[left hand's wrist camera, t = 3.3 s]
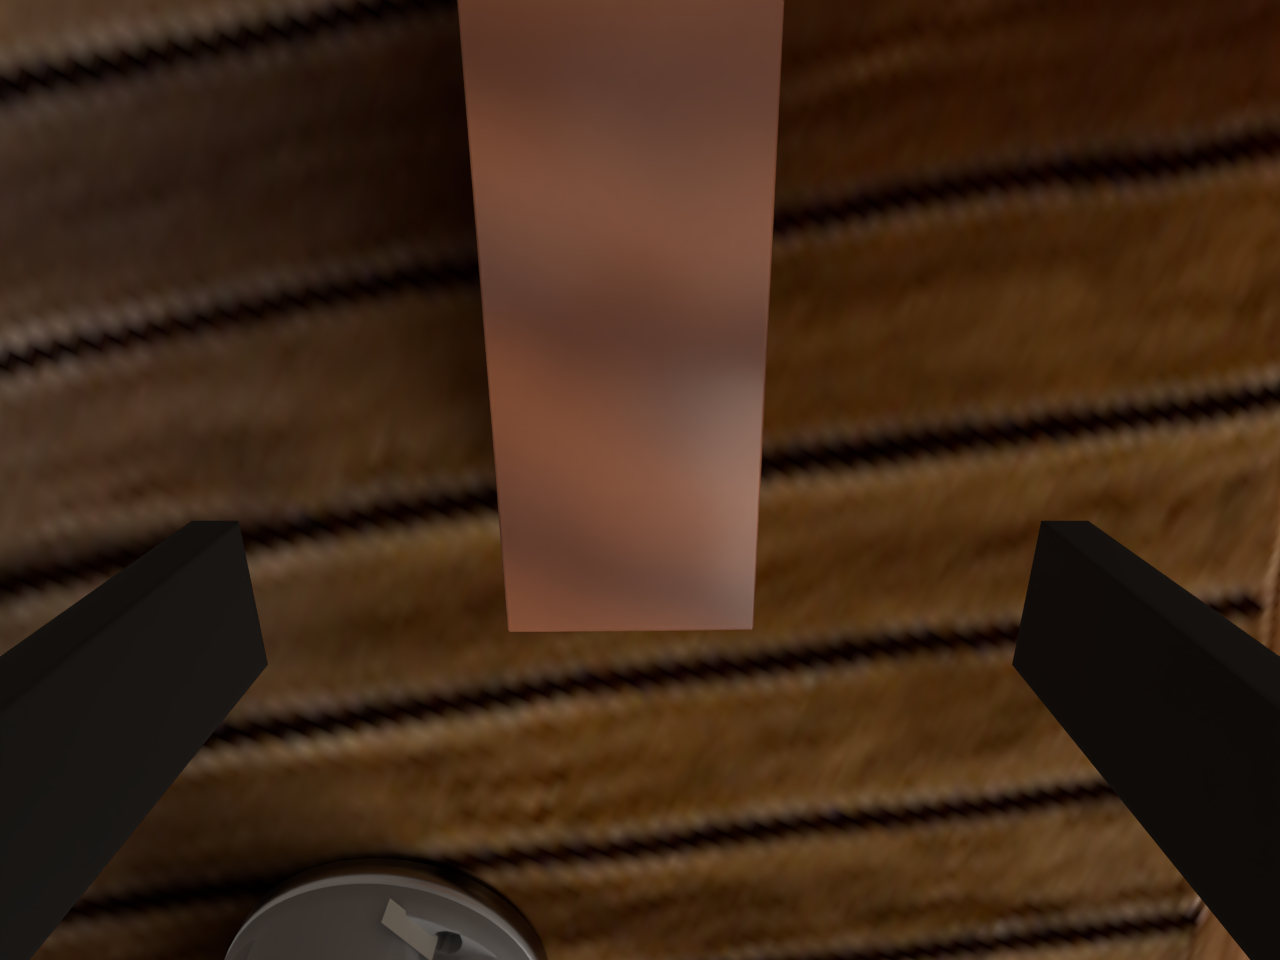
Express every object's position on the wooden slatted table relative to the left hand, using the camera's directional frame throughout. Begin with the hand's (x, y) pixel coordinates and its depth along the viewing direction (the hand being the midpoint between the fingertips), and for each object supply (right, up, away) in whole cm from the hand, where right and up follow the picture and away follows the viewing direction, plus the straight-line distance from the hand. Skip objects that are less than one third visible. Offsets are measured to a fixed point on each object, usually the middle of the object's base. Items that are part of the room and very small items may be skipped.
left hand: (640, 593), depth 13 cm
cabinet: (0, +9, +13) cm, 15 cm away
